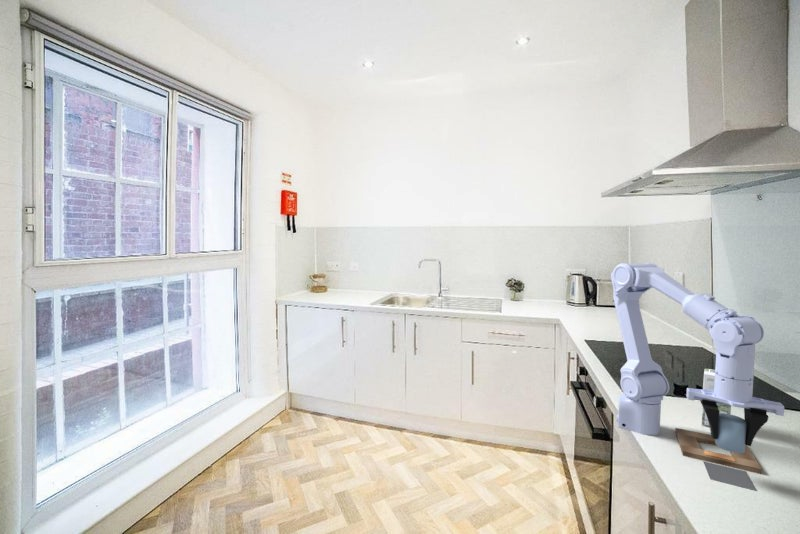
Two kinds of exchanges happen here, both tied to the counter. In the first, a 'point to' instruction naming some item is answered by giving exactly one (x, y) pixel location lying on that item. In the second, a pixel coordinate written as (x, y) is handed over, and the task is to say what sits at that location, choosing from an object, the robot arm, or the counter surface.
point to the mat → (729, 476)
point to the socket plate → (692, 449)
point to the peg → (731, 433)
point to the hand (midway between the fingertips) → (730, 440)
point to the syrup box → (709, 385)
